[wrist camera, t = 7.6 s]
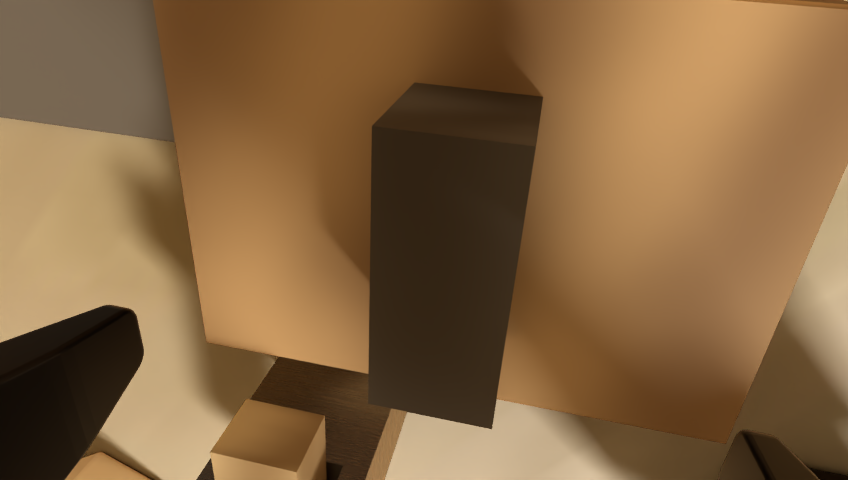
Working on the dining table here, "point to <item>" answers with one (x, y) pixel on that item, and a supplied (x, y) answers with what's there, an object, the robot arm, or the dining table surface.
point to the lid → (509, 192)
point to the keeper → (335, 416)
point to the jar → (103, 469)
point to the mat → (84, 66)
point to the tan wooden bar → (271, 445)
